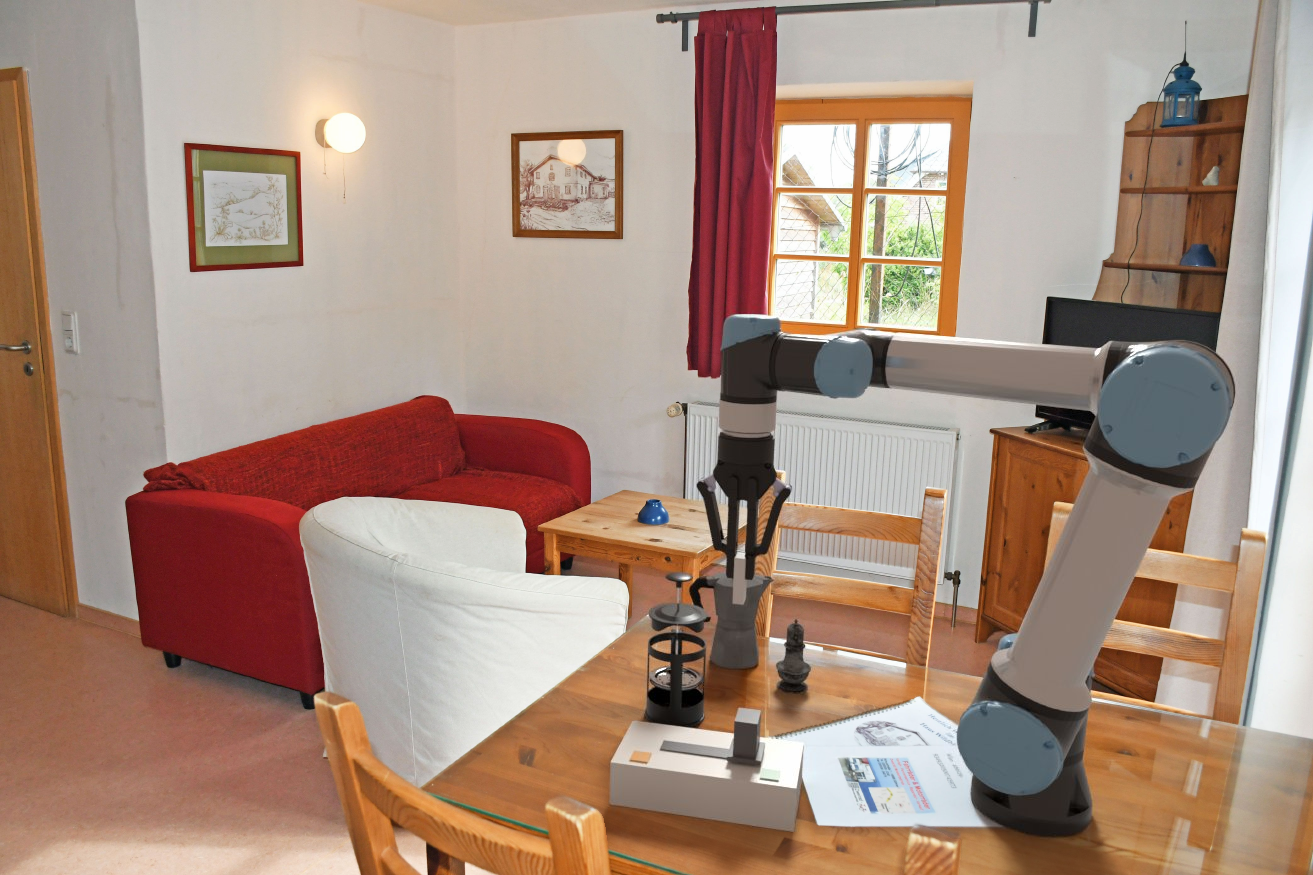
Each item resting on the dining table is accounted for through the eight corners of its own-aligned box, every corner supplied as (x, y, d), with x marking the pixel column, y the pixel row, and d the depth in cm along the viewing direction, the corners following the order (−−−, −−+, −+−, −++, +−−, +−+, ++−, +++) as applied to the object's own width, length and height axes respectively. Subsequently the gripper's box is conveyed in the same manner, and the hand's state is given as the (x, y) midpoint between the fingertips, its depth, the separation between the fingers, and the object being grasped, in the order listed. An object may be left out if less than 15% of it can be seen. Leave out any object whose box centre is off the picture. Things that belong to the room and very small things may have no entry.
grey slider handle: (765, 746, 133) (766, 709, 132) (760, 765, 129) (762, 726, 128) (732, 742, 134) (734, 705, 133) (726, 760, 130) (728, 721, 129)
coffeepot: (760, 645, 184) (764, 552, 180) (778, 666, 175) (784, 568, 171) (679, 652, 180) (682, 556, 176) (694, 674, 171) (698, 573, 168)
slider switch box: (801, 782, 137) (804, 741, 136) (793, 831, 126) (796, 786, 124) (632, 759, 142) (632, 718, 141) (609, 804, 131) (610, 760, 129)
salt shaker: (771, 691, 165) (775, 622, 163) (778, 676, 171) (781, 610, 168) (807, 696, 164) (811, 627, 161) (812, 681, 169) (816, 614, 167)
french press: (705, 732, 151) (711, 587, 146) (643, 730, 151) (647, 585, 146) (703, 697, 162) (708, 562, 158) (645, 695, 162) (649, 560, 158)
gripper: (798, 430, 135) (789, 596, 139) (703, 423, 137) (697, 587, 142) (793, 440, 127) (784, 615, 132) (693, 433, 130) (687, 605, 135)
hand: (739, 600), depth 137 cm, fingers closed
